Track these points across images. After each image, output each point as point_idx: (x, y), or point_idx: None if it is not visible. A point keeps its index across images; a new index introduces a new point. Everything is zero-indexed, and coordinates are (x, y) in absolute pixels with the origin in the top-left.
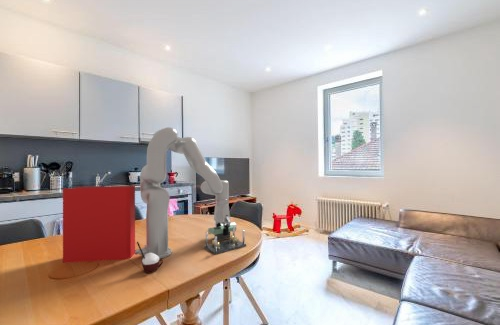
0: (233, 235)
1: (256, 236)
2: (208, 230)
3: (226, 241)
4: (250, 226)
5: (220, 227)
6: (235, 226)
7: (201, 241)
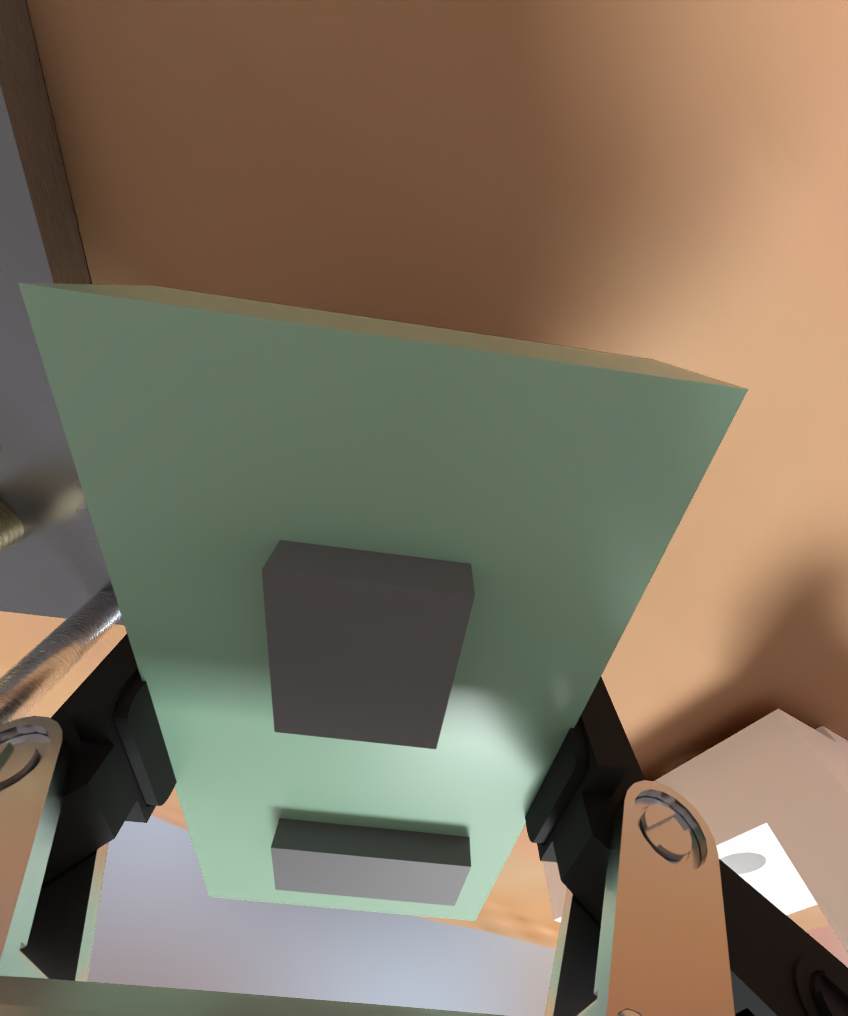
0: (29, 652)
1: (173, 810)
2: (663, 367)
3: (54, 456)
4: (500, 922)
5: (283, 721)
6: (556, 884)
7: (595, 50)
